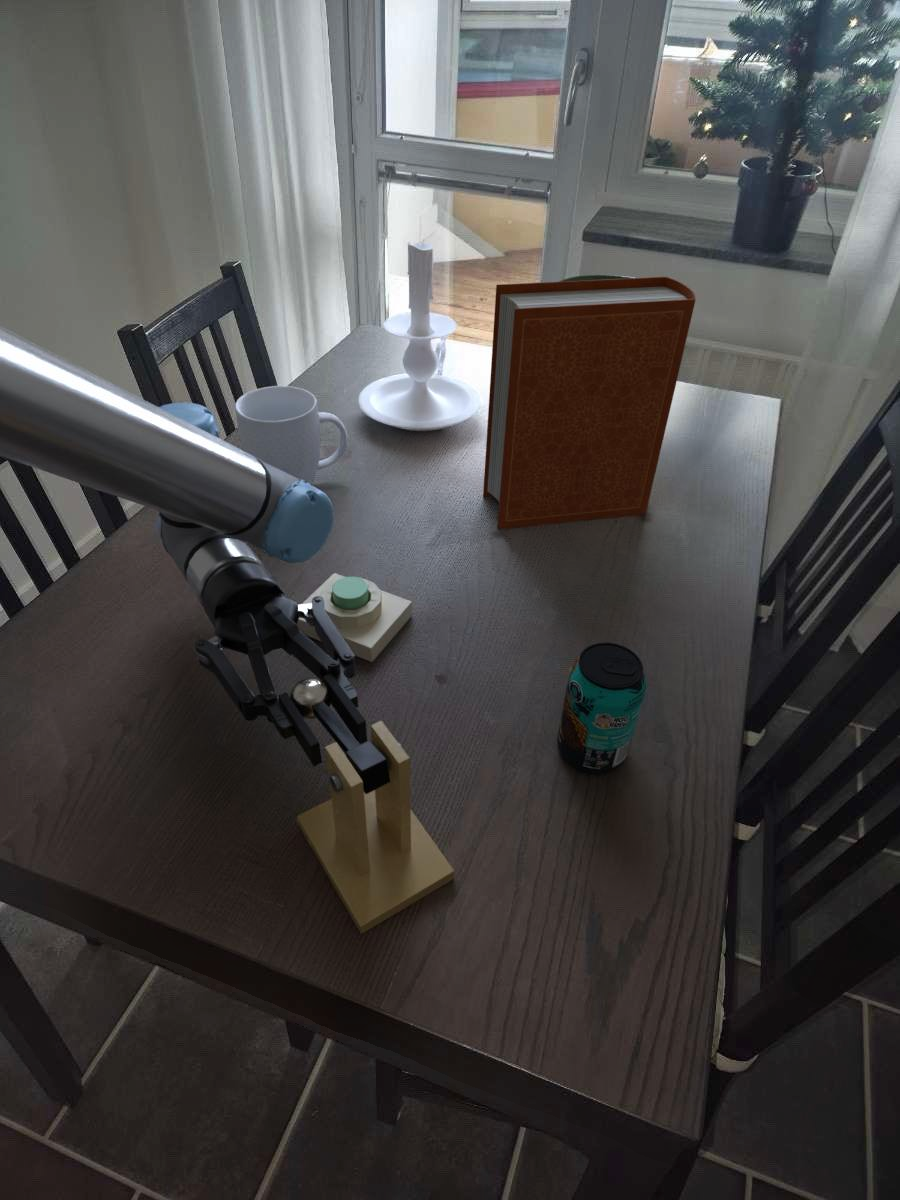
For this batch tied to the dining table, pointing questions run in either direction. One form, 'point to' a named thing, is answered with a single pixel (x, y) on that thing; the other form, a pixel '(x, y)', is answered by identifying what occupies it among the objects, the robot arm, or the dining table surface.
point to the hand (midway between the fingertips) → (339, 743)
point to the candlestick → (420, 363)
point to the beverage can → (601, 707)
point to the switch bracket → (373, 838)
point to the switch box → (362, 619)
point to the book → (581, 396)
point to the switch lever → (341, 733)
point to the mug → (286, 430)
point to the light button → (350, 593)
